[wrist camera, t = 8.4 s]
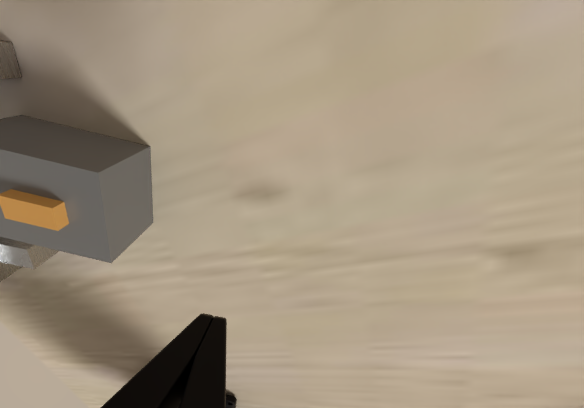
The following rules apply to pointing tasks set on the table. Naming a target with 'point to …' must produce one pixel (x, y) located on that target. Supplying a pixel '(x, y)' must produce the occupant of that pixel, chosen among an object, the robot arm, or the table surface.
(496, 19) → the table surface
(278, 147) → the table surface
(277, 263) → the table surface
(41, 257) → the rail
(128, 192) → the block
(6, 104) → the table surface
